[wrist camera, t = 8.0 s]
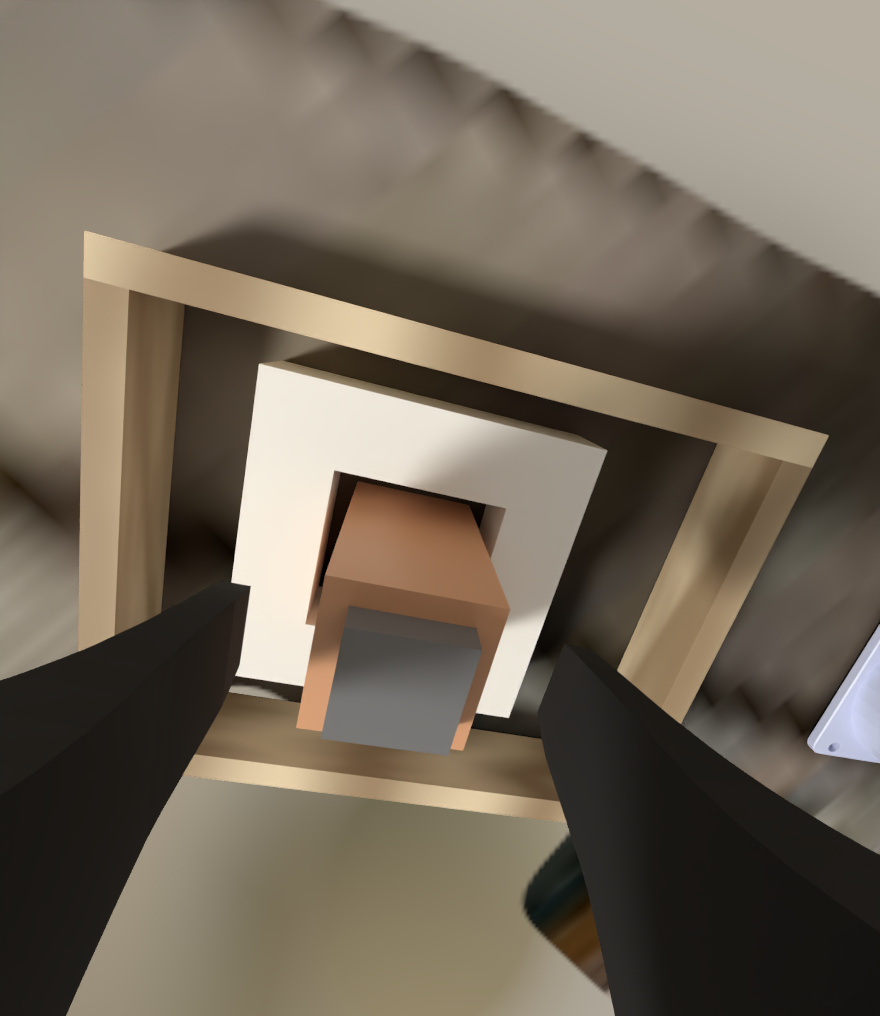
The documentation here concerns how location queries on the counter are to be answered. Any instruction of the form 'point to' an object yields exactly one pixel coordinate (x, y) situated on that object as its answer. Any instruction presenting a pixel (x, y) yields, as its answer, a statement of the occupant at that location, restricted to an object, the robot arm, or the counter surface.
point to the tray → (404, 461)
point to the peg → (403, 625)
